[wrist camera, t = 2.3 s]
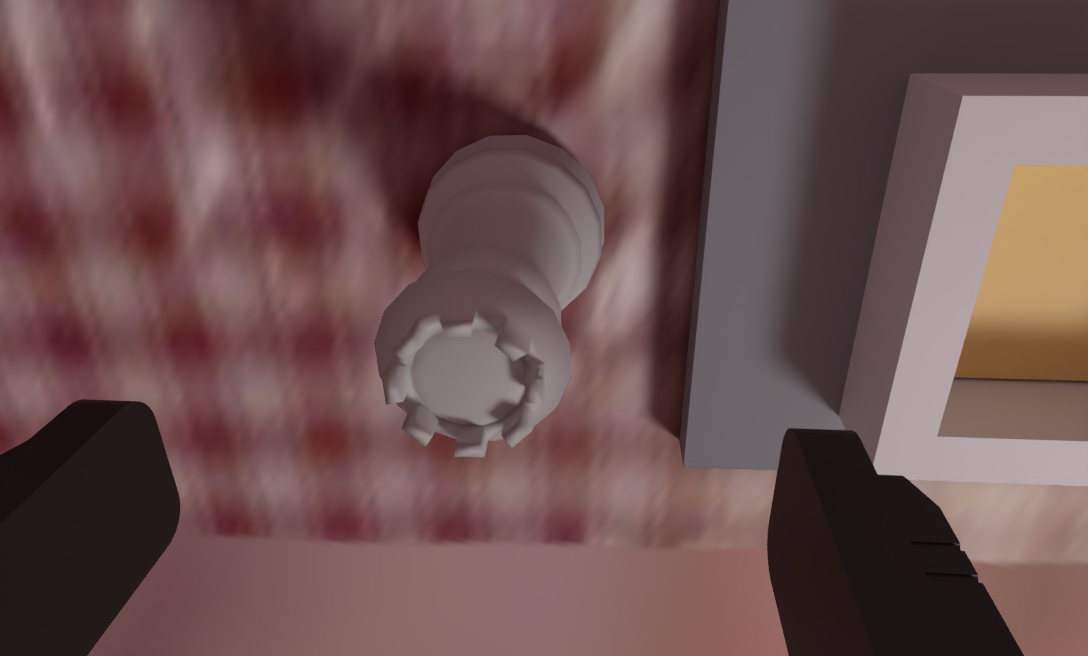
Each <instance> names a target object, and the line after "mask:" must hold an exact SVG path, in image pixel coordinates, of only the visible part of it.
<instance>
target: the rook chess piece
mask: <svg viewBox="0 0 1088 656" xmlns="http://www.w3.org/2000/svg"><path fill="white" fill-rule="evenodd" d="M418 228H419V237H420V245H421V254H422V261H423V263H424V265H425V267H426V269H427V270H426V271H425V272H424V273H423V274H422V275H421V277H420V278H419V279H418V280H417V282H414V283H412V284H410V285H408V286H407V287H406V288H405V289H404V290H403V291H402V292H401V294H400V295H399V296H398V297H397V298H396V299H395V300H394V301H393V302H392V303H391V304H390V305H389V306H388V307H387V308H386V309H385V310H384V313H383V316H382V320H381V323H380V326H379V330H378V333H377V336H376V339H375V343H374V344H375V350H376V356H377V363H378V369H379V376H380V378H381V379H382V381H383V388H384V394H385V401H386V404H392V403H397V405H398V406H399V407H400V408H402V409H403V410H404V411H405V412H407V413H408V414H407V416H406V419H405V421H404V424H403V426H402V429H403V430H404V431H405V432H406V433H408V434H409V435H410V436H412V437H413V438H414V439H416V440H417V441H418V442H420V443H421V444H422V445H424V446H425V447H426V445H427V444H428V442H429V441H430V439H431V438H432V436H433V435H434V432H438V433H441V434H443V435H446V436H449V437H452V438H455V439H457V442H456V448H455V456H454V457H485V453H486V449H487V444H488V440H501V439H505V440H506V442H507V443H508V444H509V445H510V446H511V447H512V448H513V447H514V446H515V445H516V444H517V443H518V442H520V441H521V440H522V439H523V438H524V437H526V436H527V435H528V434H529V433H530V432H531V431H533V427H534V426H535V425H537V424H538V423H539V422H540V421H541V420H542V419H544V418H545V417H546V416H547V415H548V414H550V413H551V412H552V411H553V410H554V409H555V408H557V406H558V403H559V401H560V399H561V397H562V395H563V393H564V390H565V388H566V386H567V384H568V382H569V380H570V378H571V377H570V343H569V341H568V339H567V337H566V335H565V333H564V331H563V329H562V327H561V311H562V310H563V309H564V308H565V307H566V306H567V305H568V304H569V303H570V302H571V301H572V300H574V299H575V298H576V297H577V296H578V295H579V294H580V293H581V292H582V291H583V290H584V289H585V288H586V287H587V286H588V284H589V281H590V279H591V277H592V275H593V272H594V270H595V268H596V266H597V263H598V261H599V259H600V257H601V248H602V246H603V243H604V206H603V204H602V202H601V199H600V197H599V195H598V192H597V190H596V188H595V185H594V183H593V181H592V179H591V176H590V174H589V173H587V172H586V171H585V170H584V169H583V168H582V167H581V166H580V165H579V164H578V163H577V162H576V161H575V160H574V159H573V158H572V157H571V156H570V155H569V154H568V153H567V152H566V151H565V150H564V149H562V148H559V147H557V146H554V145H552V144H549V143H547V142H544V141H542V140H539V139H536V138H534V137H531V136H529V135H499V136H488V137H486V138H483V139H481V140H479V141H477V142H475V143H472V144H470V145H468V146H466V147H464V148H461V149H459V150H457V151H456V152H455V153H454V154H453V155H452V156H451V157H450V158H449V160H448V161H447V162H446V163H445V164H444V165H443V166H442V167H441V169H440V170H439V171H438V172H437V173H436V174H435V175H434V176H433V179H432V182H431V185H430V188H429V189H428V191H427V194H426V198H425V201H424V204H423V207H422V211H421V214H420V217H419V220H418Z"/></svg>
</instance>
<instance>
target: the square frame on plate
mask: <svg viewBox="0 0 1088 656" xmlns="http://www.w3.org/2000/svg"><path fill="white" fill-rule="evenodd" d="M789 428H801V429H827V430H853V431H855V432H856V433H857V434H858V436H859V437H860V439H861V441H862V443H863V445H864V447H865V449H866V451H867V453H868V456H869V458H870V460H871V462H872V464H873V466H874V468H875V470H876V472H877V474H878V475H899V476H904V477H905V478H906V479H908V480H931V481H959V482H987V483H1015V484H1042V485H1070V486H1088V0H720V4H719V15H718V25H717V36H716V47H715V58H714V69H713V80H712V91H711V102H710V113H709V123H708V134H707V145H706V156H705V167H704V178H703V189H702V200H701V210H700V221H699V232H698V243H697V254H696V265H695V276H694V287H693V298H692V308H691V319H690V330H689V341H688V352H687V363H686V374H685V385H684V396H683V406H682V417H681V428H680V439H679V442H680V448H681V454H682V461H683V467H698V468H726V469H754V470H778V465H779V459H780V453H781V447H782V442H783V438H784V435H785V432H786V431H787V429H789Z"/></svg>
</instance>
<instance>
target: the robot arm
mask: <svg viewBox="0 0 1088 656" xmlns="http://www.w3.org/2000/svg"><path fill="white" fill-rule="evenodd" d="M179 515H180V499H179V494H178V490H177V487H176V484H175V481H174V477H173V474H172V471H171V468H170V464H169V461H168V458H167V454H166V451H165V448H164V445H163V441H162V438H161V435H160V432H159V428H158V425H157V422H156V419H155V416H154V414H153V412H152V410H151V409H150V408H149V407H148V406H147V405H146V404H145V403H142V402H136V401H110V400H84V399H83V400H78V401H76V402H74V403H72V404H71V405H69V406H68V407H67V408H66V409H64V410H63V411H62V412H61V413H60V414H59V415H57V416H56V417H55V418H54V419H53V420H51V421H50V422H49V423H48V424H47V425H46V426H44V427H43V428H42V429H41V430H40V431H39V432H37V433H36V434H35V435H34V436H33V437H32V438H30V439H29V440H27V441H26V442H24V443H22V444H20V445H18V446H16V447H14V448H13V449H11V450H9V451H7V452H5V453H3V454H1V455H0V656H87V655H88V654H89V652H90V651H91V650H92V648H93V647H94V646H95V644H96V643H97V642H98V640H99V639H100V638H101V636H102V635H103V633H104V632H105V631H106V629H107V628H108V627H109V625H110V624H111V623H112V621H113V620H114V619H115V617H116V616H117V615H118V613H119V612H120V610H121V609H122V608H123V606H124V605H125V604H126V602H127V601H128V600H129V598H130V597H131V596H132V594H133V593H134V592H135V590H136V589H137V588H138V586H139V585H140V584H141V582H142V581H143V579H144V578H145V577H146V575H147V574H148V572H149V571H150V570H151V568H152V567H153V566H154V565H155V563H156V562H157V561H158V559H159V558H160V556H161V555H162V554H163V552H164V551H165V550H166V548H167V547H168V545H169V544H170V542H171V541H172V538H173V537H174V534H175V532H176V529H177V525H178V521H179ZM767 550H768V565H769V573H770V579H771V583H772V587H773V592H774V596H775V600H776V604H777V608H778V612H779V616H780V621H781V625H782V629H783V633H784V637H785V641H786V645H787V650H788V654H789V656H1024V655H1023V653H1022V651H1021V650H1020V648H1019V646H1018V644H1017V643H1016V641H1015V639H1014V638H1013V636H1012V634H1011V632H1010V631H1009V629H1008V627H1007V625H1006V623H1005V622H1004V620H1003V618H1002V616H1001V615H1000V613H999V611H998V609H997V608H996V606H995V604H994V602H993V600H992V599H991V597H990V595H989V594H988V592H987V590H986V588H985V586H984V585H983V584H982V583H979V582H978V574H977V572H976V571H975V569H974V567H973V565H972V564H971V562H970V560H969V558H968V557H967V555H966V553H965V551H961V550H960V542H959V541H958V539H957V537H956V535H955V534H954V532H953V530H952V528H951V527H950V525H949V523H948V521H947V520H946V518H945V516H944V514H943V513H942V511H941V509H940V507H939V506H938V505H936V504H935V503H934V502H933V501H932V500H931V499H929V498H928V497H927V496H926V495H925V494H924V493H923V492H921V491H920V490H919V489H918V488H917V487H916V486H914V485H913V484H912V483H911V482H910V481H909V480H908V479H906V478H905V477H904V476H899V475H878V474H877V472H876V470H875V468H874V466H873V464H872V462H871V460H870V458H869V456H868V453H867V451H866V449H865V447H864V445H863V443H862V441H861V439H860V437H859V436H858V434H857V433H856V432H855V431H853V430H827V429H801V428H789V429H787V431H786V432H785V435H784V438H783V442H782V447H781V453H780V459H779V465H778V471H777V477H776V483H775V489H774V496H773V502H772V508H771V514H770V520H769V527H768V540H767Z"/></svg>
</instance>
